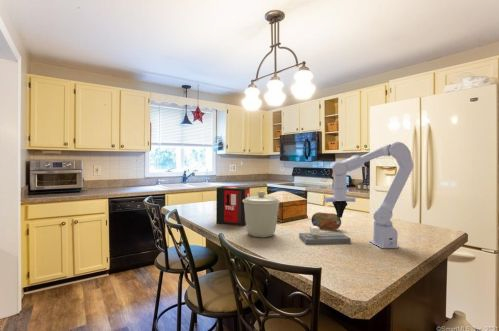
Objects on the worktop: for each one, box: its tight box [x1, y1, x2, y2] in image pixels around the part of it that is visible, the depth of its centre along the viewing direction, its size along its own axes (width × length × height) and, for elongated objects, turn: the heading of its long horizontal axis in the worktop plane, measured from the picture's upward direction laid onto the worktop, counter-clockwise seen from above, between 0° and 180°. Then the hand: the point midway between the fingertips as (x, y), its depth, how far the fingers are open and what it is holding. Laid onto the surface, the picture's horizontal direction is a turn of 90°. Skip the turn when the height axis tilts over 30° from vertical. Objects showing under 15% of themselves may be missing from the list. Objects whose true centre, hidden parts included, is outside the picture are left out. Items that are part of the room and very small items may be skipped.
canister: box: [242, 190, 281, 238], centre depth 128 cm, size 18×18×21 cm
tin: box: [310, 212, 342, 231], centre depth 140 cm, size 15×3×8 cm, turn 62°
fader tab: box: [309, 225, 321, 235], centre depth 120 cm, size 4×3×4 cm
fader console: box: [298, 231, 352, 245], centre depth 120 cm, size 10×20×3 cm, turn 97°
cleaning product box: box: [215, 185, 251, 227], centre depth 150 cm, size 16×9×20 cm, turn 73°
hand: (339, 217), depth 125 cm, fingers closed
